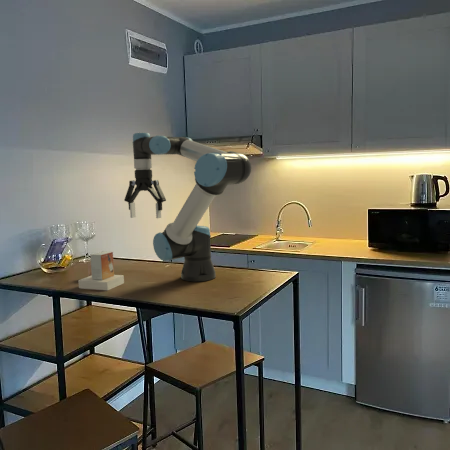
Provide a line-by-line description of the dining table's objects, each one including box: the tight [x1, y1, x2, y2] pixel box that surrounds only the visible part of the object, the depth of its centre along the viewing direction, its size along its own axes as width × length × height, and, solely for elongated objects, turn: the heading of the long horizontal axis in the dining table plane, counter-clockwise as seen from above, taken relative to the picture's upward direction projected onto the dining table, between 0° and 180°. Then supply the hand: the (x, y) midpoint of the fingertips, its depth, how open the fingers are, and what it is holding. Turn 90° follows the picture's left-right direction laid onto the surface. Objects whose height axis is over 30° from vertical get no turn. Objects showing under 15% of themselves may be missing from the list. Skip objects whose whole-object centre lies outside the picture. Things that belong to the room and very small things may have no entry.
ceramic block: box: [78, 274, 125, 291], centre depth 191 cm, size 14×12×4 cm
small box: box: [90, 250, 115, 280], centre depth 190 cm, size 8×6×10 cm
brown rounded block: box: [87, 262, 92, 277], centre depth 203 cm, size 7×7×7 cm
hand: (145, 217), depth 200 cm, fingers open, 13 cm apart
